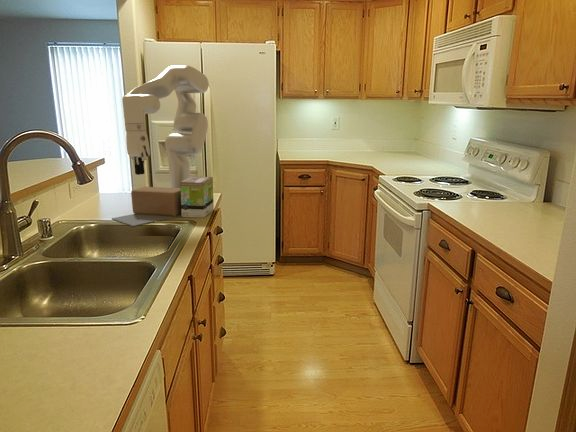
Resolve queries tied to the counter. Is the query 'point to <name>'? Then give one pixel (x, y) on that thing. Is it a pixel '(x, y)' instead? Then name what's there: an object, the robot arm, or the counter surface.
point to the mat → (141, 219)
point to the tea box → (197, 196)
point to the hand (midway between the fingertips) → (140, 174)
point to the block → (156, 201)
